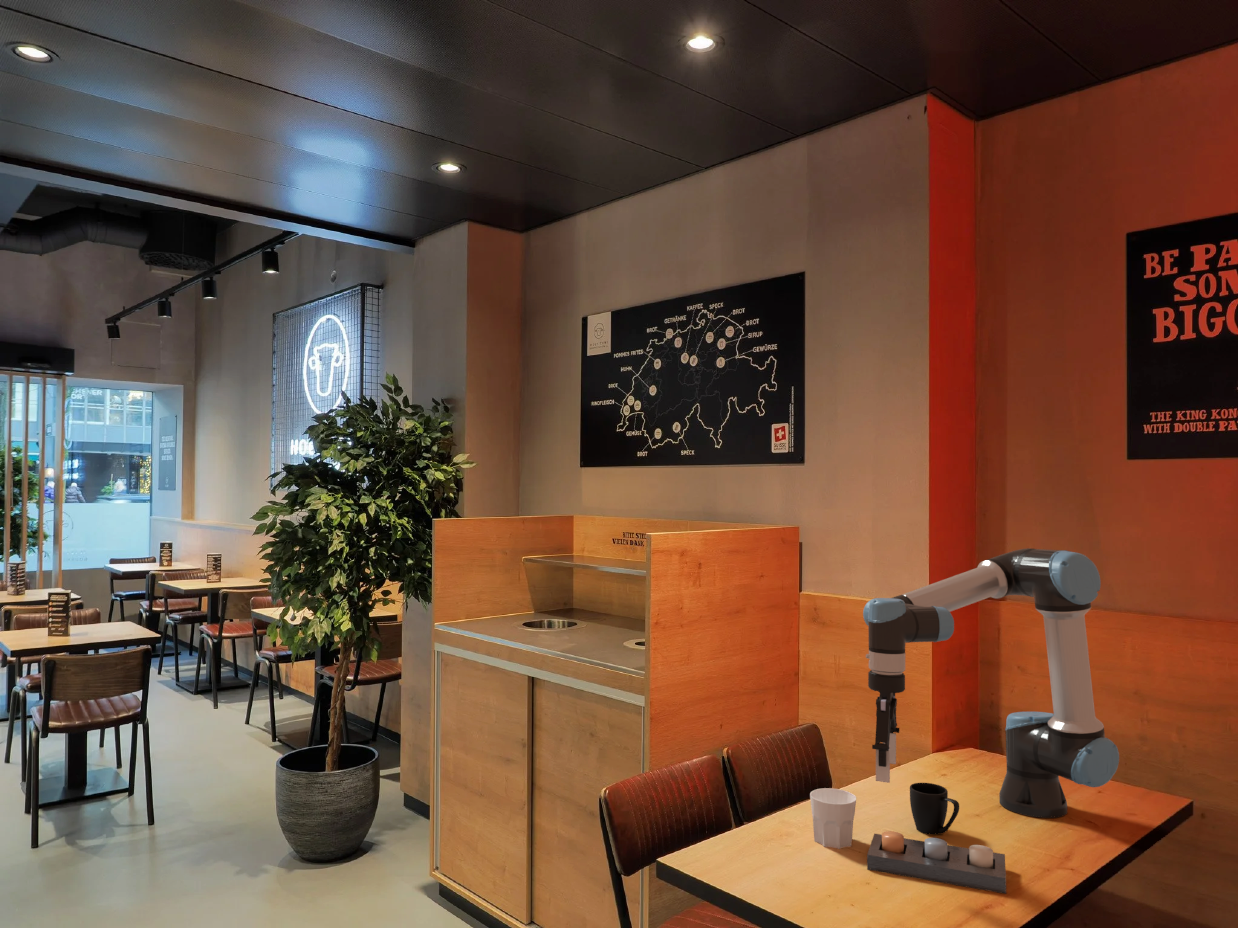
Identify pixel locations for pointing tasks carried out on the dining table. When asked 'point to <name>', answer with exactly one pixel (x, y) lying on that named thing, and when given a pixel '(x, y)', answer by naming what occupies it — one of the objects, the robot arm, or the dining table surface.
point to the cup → (833, 816)
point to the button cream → (981, 856)
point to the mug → (931, 808)
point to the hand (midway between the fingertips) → (886, 771)
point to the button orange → (893, 842)
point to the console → (938, 866)
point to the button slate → (936, 849)
